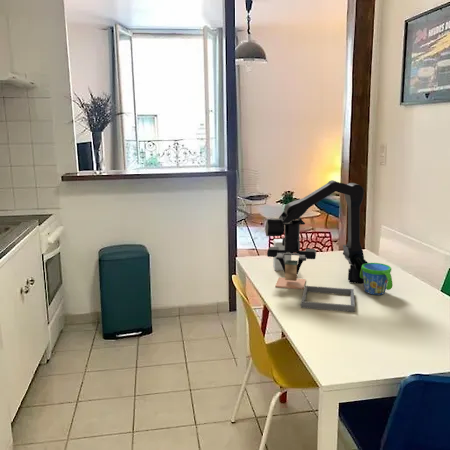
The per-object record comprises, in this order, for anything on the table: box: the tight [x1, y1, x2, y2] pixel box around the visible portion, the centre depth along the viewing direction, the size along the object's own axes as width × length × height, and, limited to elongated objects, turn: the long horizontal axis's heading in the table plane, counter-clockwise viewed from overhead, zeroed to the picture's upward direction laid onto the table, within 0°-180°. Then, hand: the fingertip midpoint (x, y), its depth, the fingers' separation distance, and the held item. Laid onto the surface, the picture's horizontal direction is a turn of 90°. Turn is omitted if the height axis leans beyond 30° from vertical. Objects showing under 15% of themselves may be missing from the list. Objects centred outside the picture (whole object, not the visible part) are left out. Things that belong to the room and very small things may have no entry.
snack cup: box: [360, 262, 393, 296], centre depth 184 cm, size 16×10×10 cm
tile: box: [275, 276, 307, 290], centre depth 195 cm, size 11×11×1 cm
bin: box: [300, 285, 356, 313], centre depth 176 cm, size 18×18×2 cm
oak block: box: [284, 259, 298, 281], centre depth 193 cm, size 4×4×7 cm
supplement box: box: [272, 238, 292, 271], centre depth 215 cm, size 7×7×13 cm
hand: (291, 273), depth 194 cm, fingers closed on oak block, 4 cm apart
